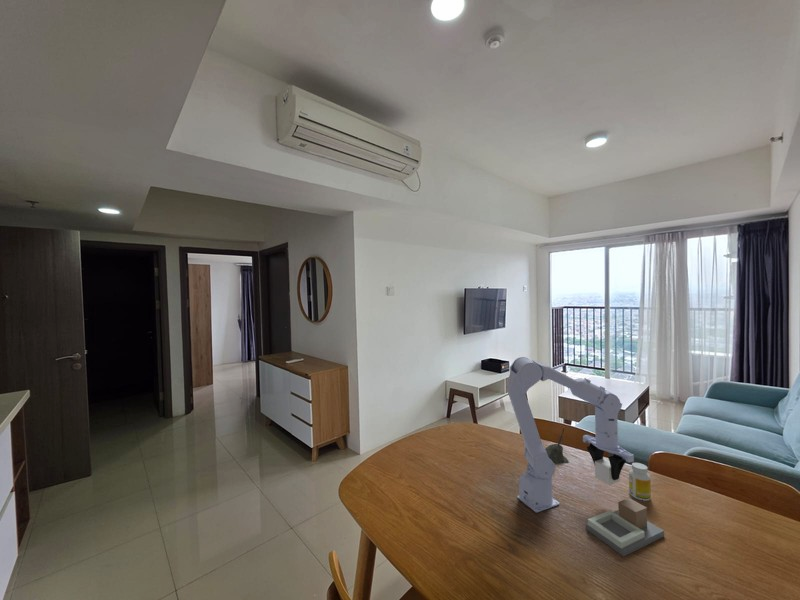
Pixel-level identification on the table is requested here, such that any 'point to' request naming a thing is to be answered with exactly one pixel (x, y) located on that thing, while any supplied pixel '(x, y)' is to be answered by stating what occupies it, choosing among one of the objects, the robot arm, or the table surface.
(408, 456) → the table surface
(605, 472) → the block
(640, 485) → the supplement bottle
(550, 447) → the sword in stone
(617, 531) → the base plate
